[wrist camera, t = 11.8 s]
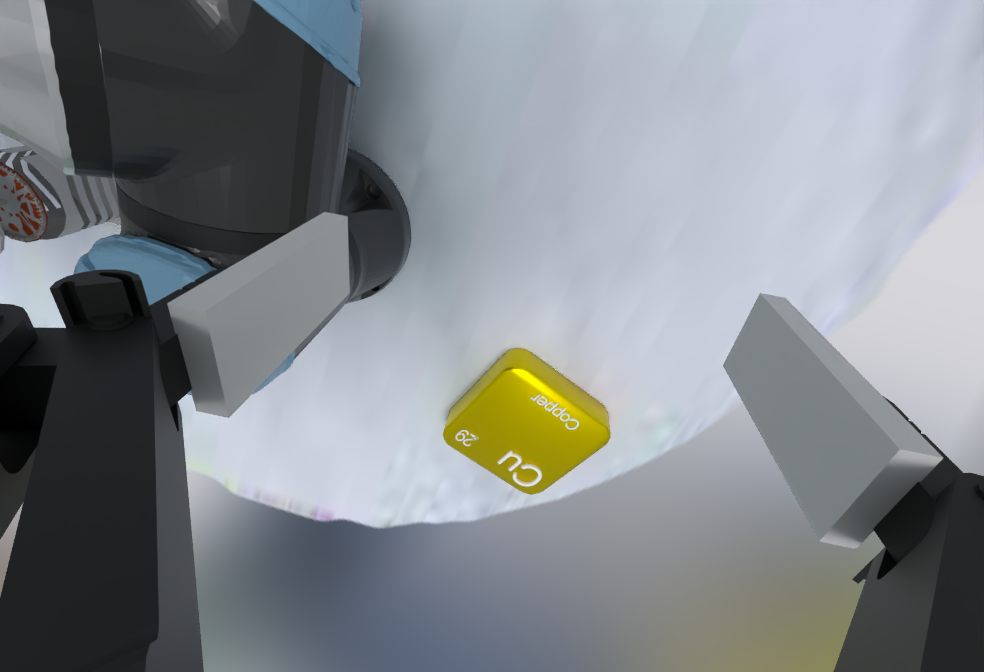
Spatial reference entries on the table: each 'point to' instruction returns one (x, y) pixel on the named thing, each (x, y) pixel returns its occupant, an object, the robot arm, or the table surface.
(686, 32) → the table surface
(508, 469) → the element tile
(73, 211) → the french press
